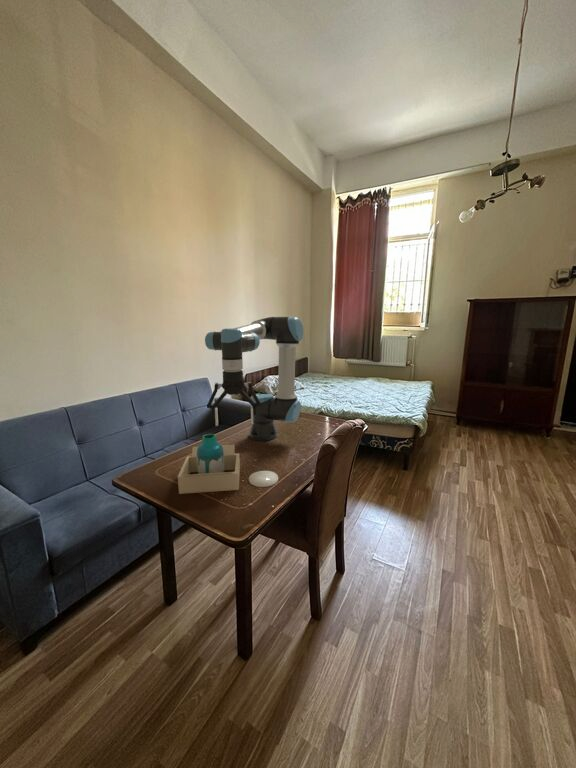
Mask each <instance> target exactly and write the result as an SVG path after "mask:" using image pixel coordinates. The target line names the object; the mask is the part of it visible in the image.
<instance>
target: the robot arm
mask: <svg viewBox="0 0 576 768" xmlns="http://www.w3.org/2000/svg"><path fill="white" fill-rule="evenodd" d="M204 337H205V338H204V344H205V346H206V348H207V350H213V351H221V356H222V357H221V363H222V364H221V367H222V369H221V370H223V371H222V383H218V382H215V383H214V387H213V391H212V394H211V396H210V397H209V400H208V402H207V404H206V408H207V409H211V416H212V418H214V419H215V427H218V426H219V413H218V411H219V410H218V406H219V404H220V403H221V402H222V401H223V400H224V398H225V397H226V396H227V394H228V395H229V396H232V395H239V394H240V395H241V396H242V397H243V398H244V399H245V400H246V402H248V404H250V423H251V427H250V431H249V438H250V439H252V440H254V441H261V442H263V441H264V442H265V441H266V442H267V441H271V440H274V439H275V438H277V436H278V431H277V428H276V425H275V421H279V422H285V423H294V422H296V421H297V420H298V418H299V415H300V413H301V409H302V404H301V401H300V400H298V396H297V394H296V393H295V389H296V388H295V382H296V381H295V380H296V348H297V347H298V346H299V345H300V342H301V341H302V340H303V339H304V326H303V323H302V321H301V319H300V318H298V317H296V316H269V317H265V318H260V319H258V320H253V321H252V322H251V323H250V324H246V325H241V326H238V327H233V328H232V327H231V328H223V329H221V331H210V332H208V333H206V335H205V336H204ZM261 340H271V341H272V340H275V343H276V345H277V347H278V370H277V371H278V376H277V377H278V380H277V381H278V382H277V386H278V387H277V393H276V394H275V395H273V394H272V393H263V394H256V392H255V391H254V389H253V385H252V382H251V381H248V382H244V371H243V369H244V368H243V353H248V352H253V351H255V350H257V349H259V346H260V341H261ZM221 388H222V389H223V391H222V393H221V394H219V395H220V396H219V397H218V398H217V399H216V400H215V398H216V395H217V392H218V390H220V389H221ZM244 388H247V389H248V390H249V392H250V394H251V396H252V398H251V397H250V396H249V395H248V394H247V393H246V392H245V390H244ZM214 400H215V401H214ZM213 401H214V402H213ZM212 403H213V404H212Z"/></svg>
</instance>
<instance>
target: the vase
mask: <svg viewBox="0 0 576 768" xmlns="http://www.w3.org/2000/svg"><path fill="white" fill-rule="evenodd" d="M201 440H202V441H201V444H199V445H198V446H199V447H198V449H197V468H198V472H197V474H207V473H223V472H225V470H224V453H223V447H222V445H223V444H221V443H220V442H218V439H217V435H216V434H215V433H206V434H205V433H204V435H202V439H201Z"/></svg>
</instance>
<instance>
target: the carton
mask: <svg viewBox="0 0 576 768" xmlns="http://www.w3.org/2000/svg"><path fill="white" fill-rule="evenodd" d="M221 445H222V447H223V453H224V472H223V473H207V474H198V468H197V449H198V447H199V446H200V445H198V446H196V445H195V446H192V451H191V455H188V456H186V458H185V459H184V462H183V464H182V467H180V471H179V473H178V474H177V485H178V494H179V495H182V494H195V493H196V494H197V493H211V492H222V491H223V492H224V491H225V492H226V491H239V489H240V473H241V472H240V471H241V462H240V459H241V458H240V453H235V450H236V449H235V444H221ZM226 471H227V472H226ZM191 473H193V474H191Z"/></svg>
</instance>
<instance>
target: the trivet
mask: <svg viewBox="0 0 576 768" xmlns="http://www.w3.org/2000/svg"><path fill="white" fill-rule="evenodd" d="M278 481H279V476H278V474H277V473H275V472H274V471H270V470H258V471H255V472H253V473H251V474H250V475H249V477H248V483H250V485H251V486H253V487H257V488H268V487H272V486H274V485H275V484H277V482H278Z"/></svg>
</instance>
